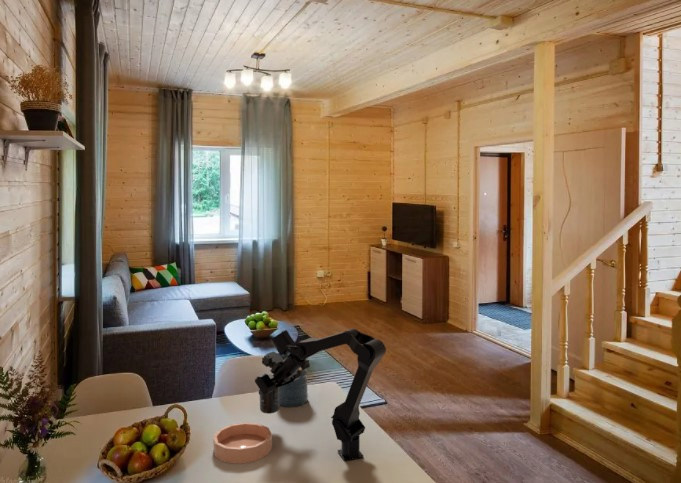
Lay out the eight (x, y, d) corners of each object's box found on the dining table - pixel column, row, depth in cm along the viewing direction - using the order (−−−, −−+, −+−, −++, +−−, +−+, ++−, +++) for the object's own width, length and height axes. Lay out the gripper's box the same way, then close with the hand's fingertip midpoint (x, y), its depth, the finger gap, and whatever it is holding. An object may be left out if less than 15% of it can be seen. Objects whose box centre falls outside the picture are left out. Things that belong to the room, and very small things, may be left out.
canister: (270, 397, 214) (270, 354, 212) (301, 392, 220) (300, 350, 218) (281, 409, 202) (280, 364, 201) (312, 404, 208) (312, 360, 206)
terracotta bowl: (276, 456, 167) (276, 443, 167) (218, 467, 161) (218, 453, 160) (264, 432, 184) (264, 419, 183) (211, 440, 178) (210, 427, 177)
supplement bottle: (256, 412, 184) (255, 379, 183) (265, 405, 190) (264, 372, 189) (275, 415, 182) (273, 381, 181) (282, 407, 188) (282, 374, 187)
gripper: (294, 339, 189) (271, 364, 197) (258, 353, 174) (234, 379, 181) (312, 365, 186) (288, 389, 193) (277, 381, 170) (252, 407, 177)
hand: (266, 390), depth 186 cm, fingers closed on supplement bottle, 7 cm apart
